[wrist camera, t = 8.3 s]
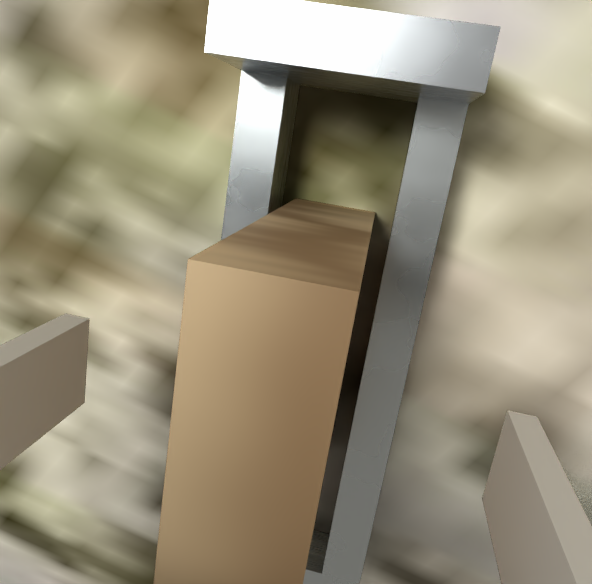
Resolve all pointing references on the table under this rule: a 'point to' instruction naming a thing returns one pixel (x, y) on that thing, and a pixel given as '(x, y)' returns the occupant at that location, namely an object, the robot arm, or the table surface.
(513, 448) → the robot arm
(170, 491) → the door panel
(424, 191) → the track
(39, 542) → the table surface
